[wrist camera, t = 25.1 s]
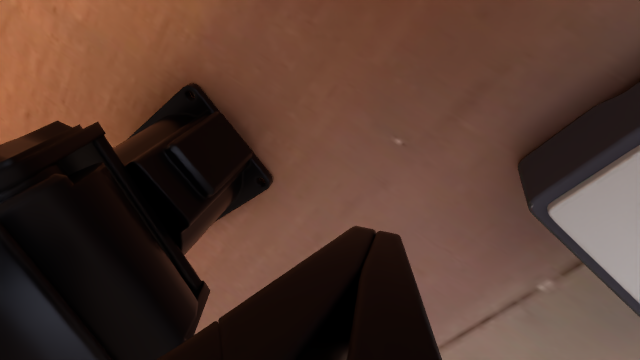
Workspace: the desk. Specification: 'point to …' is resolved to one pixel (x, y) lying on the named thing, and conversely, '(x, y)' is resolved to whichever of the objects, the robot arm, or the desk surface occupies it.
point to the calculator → (594, 191)
